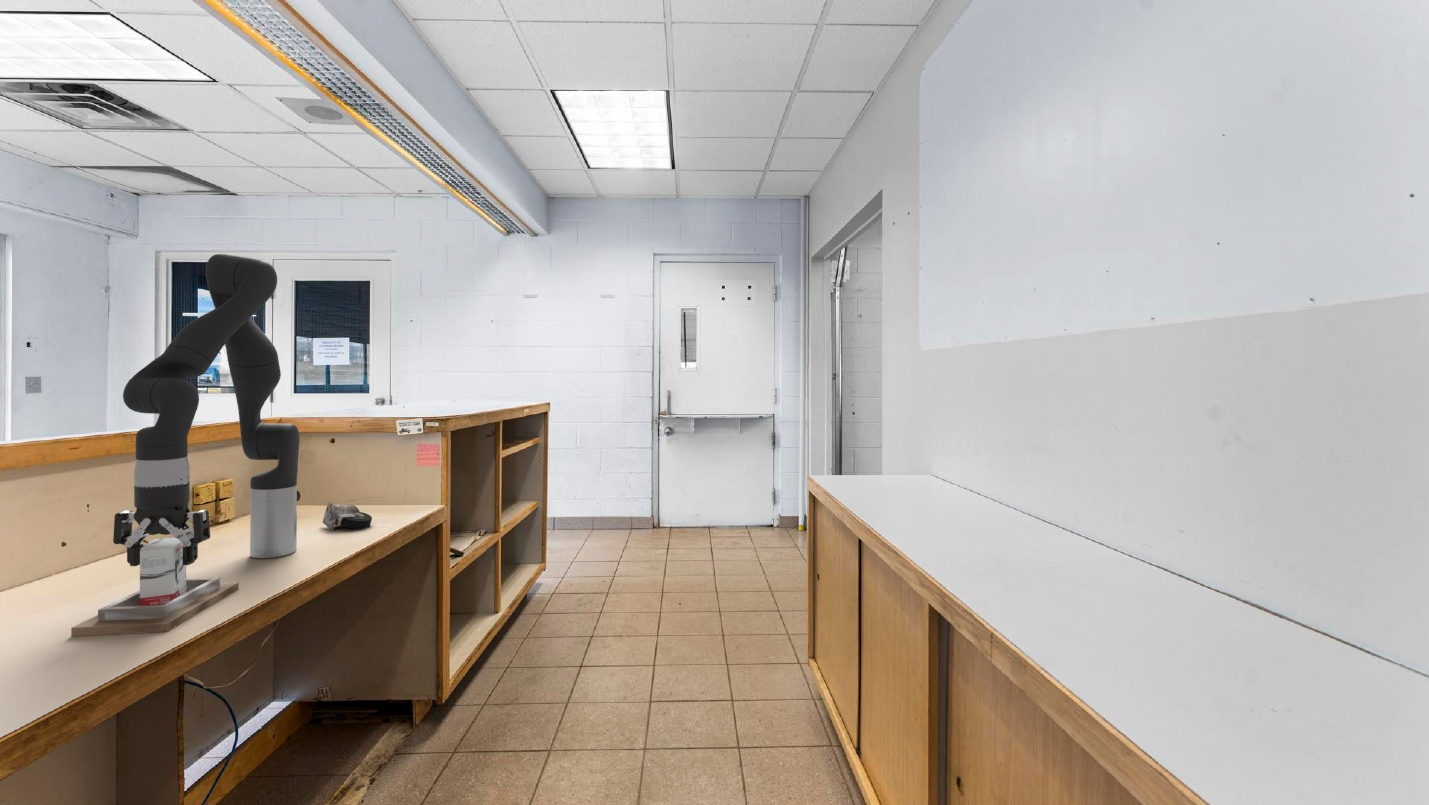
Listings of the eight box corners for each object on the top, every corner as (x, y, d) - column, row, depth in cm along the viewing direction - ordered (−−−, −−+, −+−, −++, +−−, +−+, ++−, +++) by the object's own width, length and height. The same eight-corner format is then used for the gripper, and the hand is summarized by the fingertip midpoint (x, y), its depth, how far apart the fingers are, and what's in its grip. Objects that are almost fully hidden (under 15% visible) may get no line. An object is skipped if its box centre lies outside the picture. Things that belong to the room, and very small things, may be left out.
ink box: (174, 608, 104) (174, 547, 104) (138, 613, 102) (138, 550, 101) (187, 592, 112) (187, 535, 111) (154, 596, 109) (154, 537, 109)
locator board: (160, 592, 115) (160, 575, 115) (238, 589, 118) (238, 573, 118) (71, 636, 95) (71, 616, 95) (167, 631, 98) (167, 612, 98)
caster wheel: (373, 534, 169) (338, 537, 160) (354, 520, 174) (320, 522, 166) (379, 513, 168) (344, 515, 160) (361, 500, 174) (326, 501, 166)
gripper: (100, 485, 100) (101, 572, 101) (191, 485, 103) (192, 570, 104) (134, 477, 108) (135, 559, 109) (218, 477, 111) (219, 557, 112)
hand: (163, 564), depth 106 cm, fingers open, 8 cm apart
